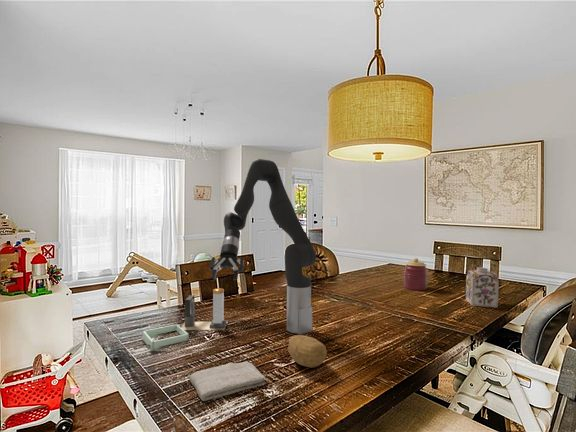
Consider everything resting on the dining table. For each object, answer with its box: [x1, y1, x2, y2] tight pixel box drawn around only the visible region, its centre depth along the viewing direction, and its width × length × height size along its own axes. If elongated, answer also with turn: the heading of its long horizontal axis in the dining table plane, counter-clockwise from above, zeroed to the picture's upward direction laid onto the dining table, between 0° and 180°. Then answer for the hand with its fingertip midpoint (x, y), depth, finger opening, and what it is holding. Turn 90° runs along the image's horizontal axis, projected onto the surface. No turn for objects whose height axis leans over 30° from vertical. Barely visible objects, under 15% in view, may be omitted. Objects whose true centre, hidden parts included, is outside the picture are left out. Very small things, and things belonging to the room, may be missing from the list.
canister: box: [403, 257, 428, 291], centre depth 202 cm, size 13×13×18 cm
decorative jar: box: [465, 266, 500, 309], centre depth 170 cm, size 12×12×18 cm
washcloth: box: [188, 361, 266, 402], centre depth 92 cm, size 12×18×3 cm, turn 120°
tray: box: [141, 323, 190, 352], centre depth 119 cm, size 12×12×3 cm
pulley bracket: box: [180, 295, 228, 331], centre depth 132 cm, size 17×9×12 cm, turn 92°
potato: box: [287, 334, 328, 369], centre depth 103 cm, size 10×14×8 cm
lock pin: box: [212, 288, 225, 324], centre depth 132 cm, size 4×4×14 cm
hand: (224, 279), depth 143 cm, fingers open, 8 cm apart
